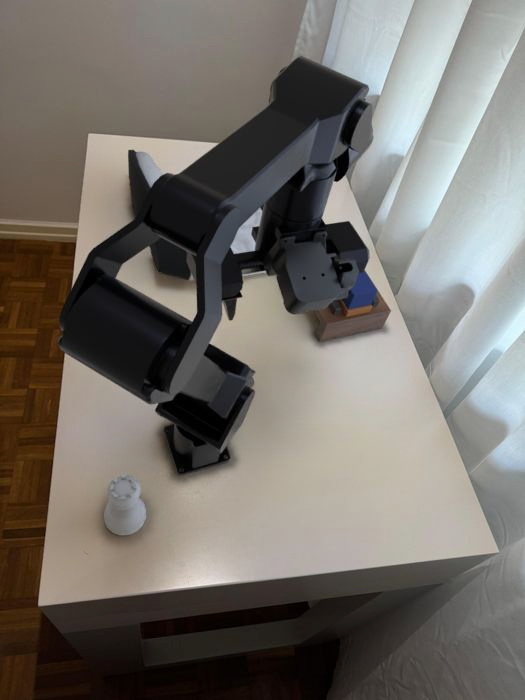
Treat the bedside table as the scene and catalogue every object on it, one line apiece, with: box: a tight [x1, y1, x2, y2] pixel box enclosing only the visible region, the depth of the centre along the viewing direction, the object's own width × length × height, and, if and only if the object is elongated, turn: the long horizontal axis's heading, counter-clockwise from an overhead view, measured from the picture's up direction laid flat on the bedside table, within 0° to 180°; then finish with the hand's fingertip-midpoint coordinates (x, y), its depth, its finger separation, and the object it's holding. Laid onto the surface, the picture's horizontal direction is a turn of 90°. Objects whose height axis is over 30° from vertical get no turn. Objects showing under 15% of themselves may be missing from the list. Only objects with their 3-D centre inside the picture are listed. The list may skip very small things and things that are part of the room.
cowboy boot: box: [127, 149, 262, 282], centre depth 90 cm, size 10×28×25 cm
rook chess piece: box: [103, 474, 147, 536], centre depth 59 cm, size 4×4×8 cm
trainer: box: [337, 269, 379, 317], centre depth 81 cm, size 9×4×4 cm, turn 22°
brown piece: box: [313, 270, 392, 343], centre depth 84 cm, size 11×11×6 cm
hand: (266, 310), depth 66 cm, fingers open, 9 cm apart
